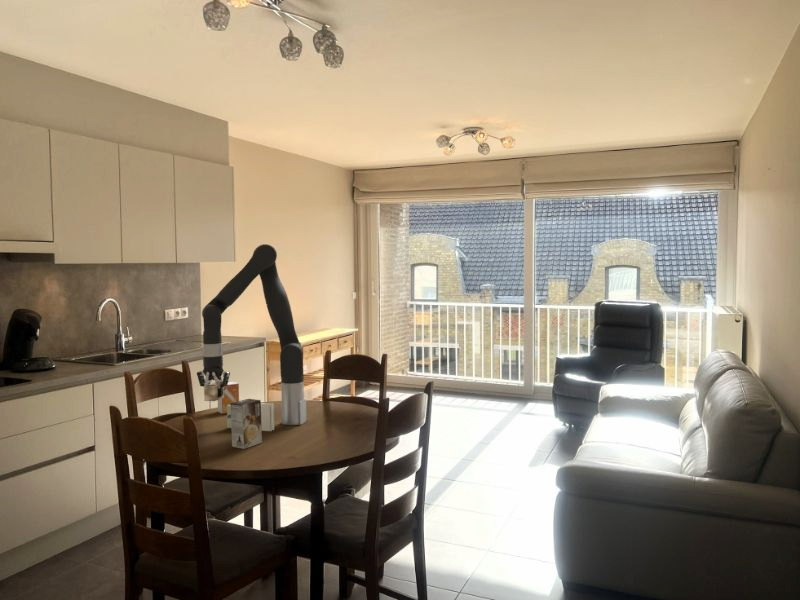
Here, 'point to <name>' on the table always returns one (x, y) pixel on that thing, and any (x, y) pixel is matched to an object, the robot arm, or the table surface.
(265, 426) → the wall with pocket
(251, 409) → the coffee box
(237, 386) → the small box
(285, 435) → the table surface
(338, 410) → the table surface
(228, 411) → the sliding door
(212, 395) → the block
